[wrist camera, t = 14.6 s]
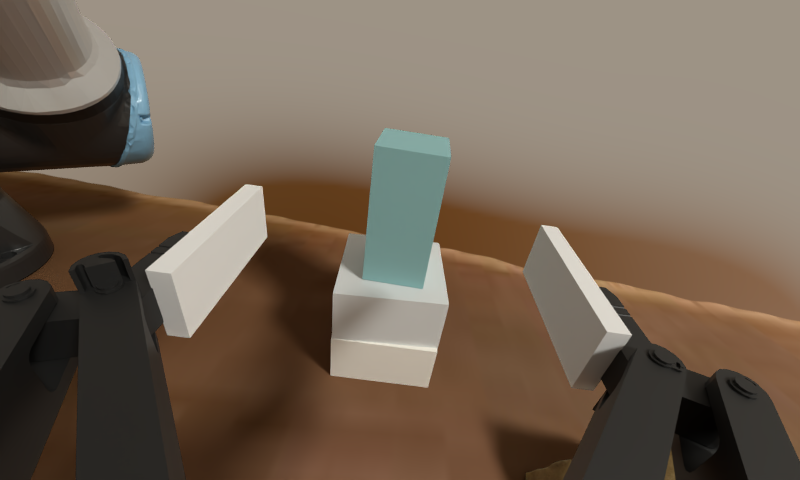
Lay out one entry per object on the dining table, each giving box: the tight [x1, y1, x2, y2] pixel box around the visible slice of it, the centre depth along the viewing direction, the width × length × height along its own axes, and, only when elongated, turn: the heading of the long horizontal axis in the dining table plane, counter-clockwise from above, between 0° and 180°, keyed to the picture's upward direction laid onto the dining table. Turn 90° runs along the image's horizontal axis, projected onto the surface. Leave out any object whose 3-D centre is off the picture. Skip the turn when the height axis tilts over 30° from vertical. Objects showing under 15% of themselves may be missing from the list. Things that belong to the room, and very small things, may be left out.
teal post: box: [362, 128, 451, 289], centre depth 27 cm, size 5×5×11 cm
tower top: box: [332, 233, 449, 348], centre depth 31 cm, size 9×9×5 cm
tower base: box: [330, 337, 437, 387], centre depth 33 cm, size 9×9×5 cm
